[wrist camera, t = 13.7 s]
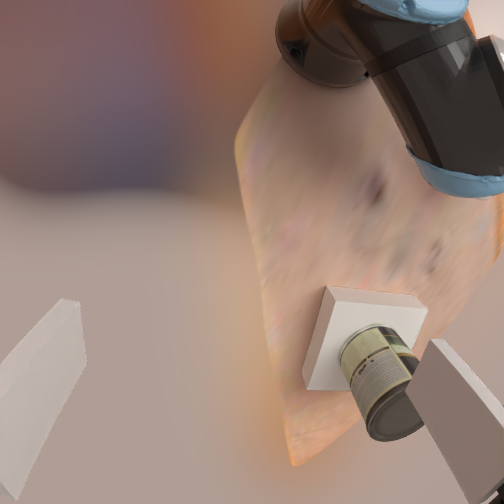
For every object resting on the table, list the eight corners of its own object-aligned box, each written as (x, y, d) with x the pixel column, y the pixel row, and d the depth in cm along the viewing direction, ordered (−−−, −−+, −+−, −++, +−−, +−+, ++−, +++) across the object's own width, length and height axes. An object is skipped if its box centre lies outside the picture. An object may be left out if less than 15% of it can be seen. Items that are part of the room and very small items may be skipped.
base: (326, 285, 46) (335, 300, 41) (413, 295, 47) (428, 308, 43) (301, 370, 51) (306, 390, 46) (382, 372, 52) (392, 389, 47)
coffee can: (405, 318, 43) (453, 374, 29) (392, 372, 46) (428, 431, 33) (341, 326, 42) (378, 392, 29) (333, 381, 46) (360, 449, 32)
